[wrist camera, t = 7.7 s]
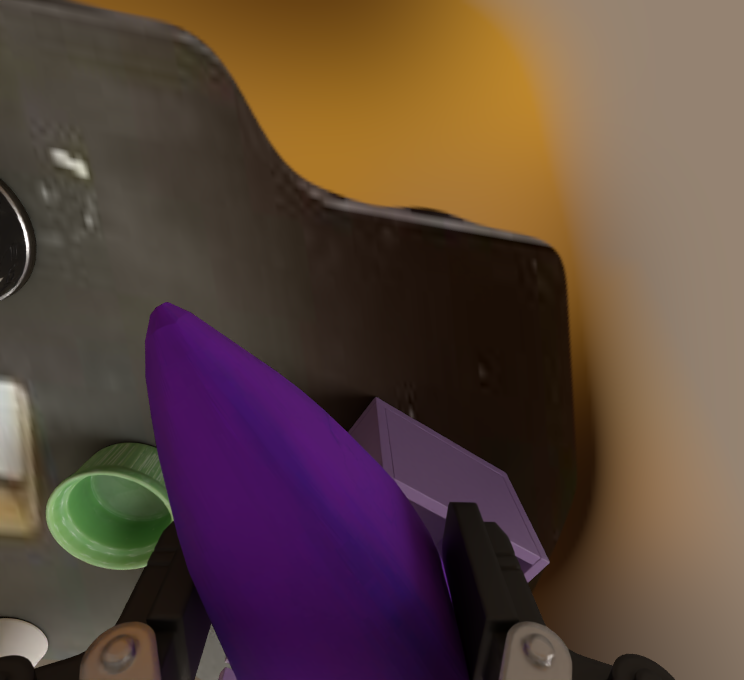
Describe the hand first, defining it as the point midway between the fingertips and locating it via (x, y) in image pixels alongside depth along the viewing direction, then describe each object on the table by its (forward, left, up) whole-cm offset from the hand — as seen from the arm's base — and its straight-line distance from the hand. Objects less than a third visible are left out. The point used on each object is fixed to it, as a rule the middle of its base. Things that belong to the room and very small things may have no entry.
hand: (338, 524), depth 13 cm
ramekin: (-6, -21, -20) cm, 30 cm away
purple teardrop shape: (0, 0, -1) cm, 1 cm away
